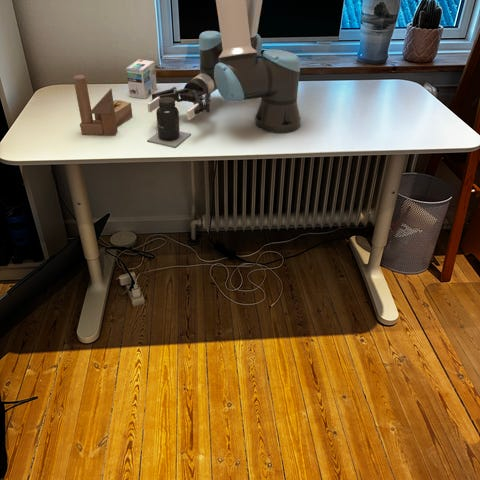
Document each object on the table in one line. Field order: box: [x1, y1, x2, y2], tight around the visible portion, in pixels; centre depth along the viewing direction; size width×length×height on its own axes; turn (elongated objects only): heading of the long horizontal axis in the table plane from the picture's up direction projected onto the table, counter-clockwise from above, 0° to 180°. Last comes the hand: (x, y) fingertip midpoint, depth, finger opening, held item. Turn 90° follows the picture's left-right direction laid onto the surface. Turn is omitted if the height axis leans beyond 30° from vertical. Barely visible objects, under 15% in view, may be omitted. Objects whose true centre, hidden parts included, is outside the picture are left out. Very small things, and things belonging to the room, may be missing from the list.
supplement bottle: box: [155, 97, 180, 141], centre depth 153 cm, size 7×7×12 cm
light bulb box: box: [125, 59, 158, 100], centre depth 184 cm, size 11×7×11 cm, turn 164°
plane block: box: [94, 99, 134, 128], centre depth 164 cm, size 6×12×8 cm, turn 157°
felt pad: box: [146, 131, 192, 149], centre depth 157 cm, size 10×10×1 cm
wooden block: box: [72, 74, 118, 136], centre depth 154 cm, size 4×11×18 cm, turn 87°
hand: (168, 111), depth 152 cm, fingers open, 13 cm apart
